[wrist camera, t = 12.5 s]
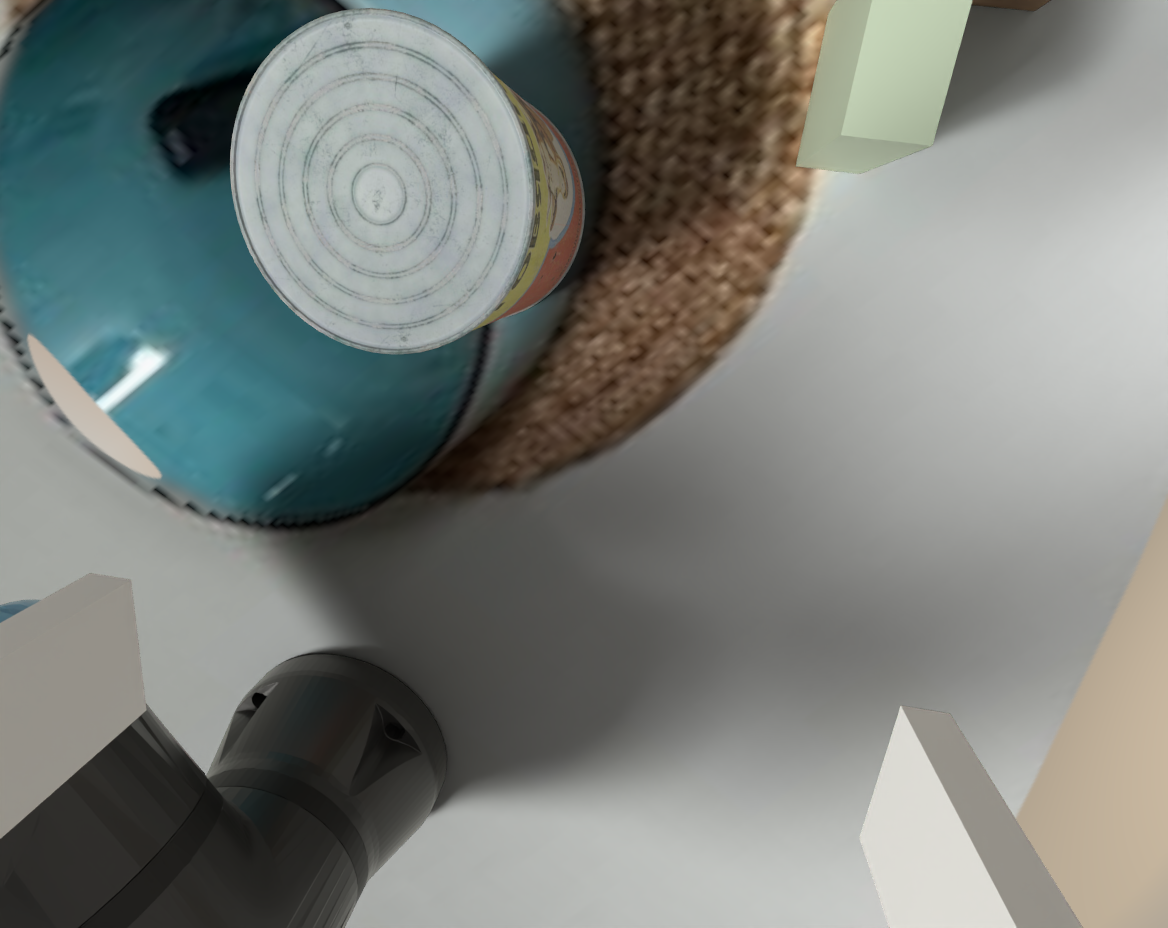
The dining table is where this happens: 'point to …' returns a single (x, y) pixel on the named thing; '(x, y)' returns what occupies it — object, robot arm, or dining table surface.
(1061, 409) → the dining table surface
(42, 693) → the robot arm
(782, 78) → the dining table surface
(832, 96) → the green arch bridge
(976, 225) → the dining table surface
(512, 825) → the dining table surface
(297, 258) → the canned food
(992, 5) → the brown u-shaped block
